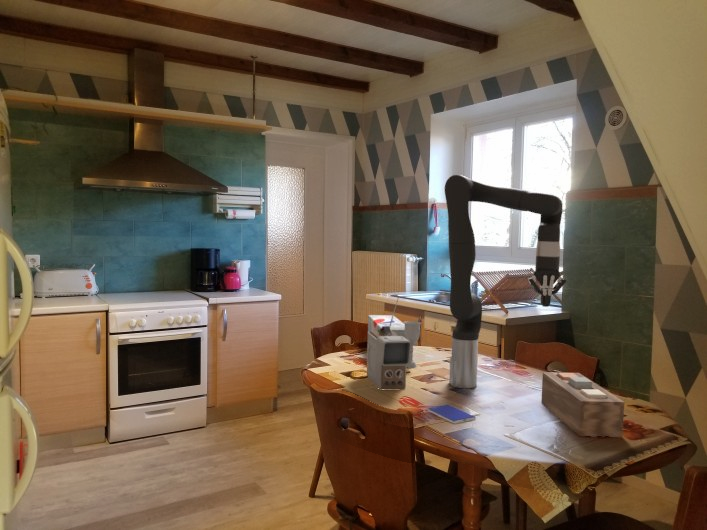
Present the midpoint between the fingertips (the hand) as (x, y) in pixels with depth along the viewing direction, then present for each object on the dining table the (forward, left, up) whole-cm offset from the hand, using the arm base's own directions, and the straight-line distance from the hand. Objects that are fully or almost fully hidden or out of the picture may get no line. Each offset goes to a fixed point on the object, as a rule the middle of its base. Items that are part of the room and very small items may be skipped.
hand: (545, 306), depth 189 cm
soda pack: (-47, +65, -31) cm, 86 cm away
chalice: (-40, +37, -31) cm, 63 cm away
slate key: (+4, -21, -24) cm, 32 cm away
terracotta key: (+4, -12, -25) cm, 28 cm away
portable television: (-51, +13, -31) cm, 61 cm away
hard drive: (-34, -20, -32) cm, 51 cm away
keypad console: (+4, -21, -31) cm, 38 cm away
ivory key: (+4, -30, -25) cm, 39 cm away
